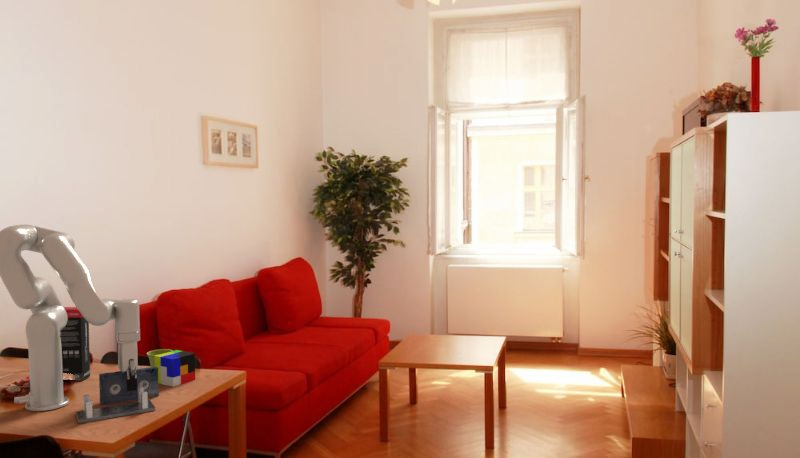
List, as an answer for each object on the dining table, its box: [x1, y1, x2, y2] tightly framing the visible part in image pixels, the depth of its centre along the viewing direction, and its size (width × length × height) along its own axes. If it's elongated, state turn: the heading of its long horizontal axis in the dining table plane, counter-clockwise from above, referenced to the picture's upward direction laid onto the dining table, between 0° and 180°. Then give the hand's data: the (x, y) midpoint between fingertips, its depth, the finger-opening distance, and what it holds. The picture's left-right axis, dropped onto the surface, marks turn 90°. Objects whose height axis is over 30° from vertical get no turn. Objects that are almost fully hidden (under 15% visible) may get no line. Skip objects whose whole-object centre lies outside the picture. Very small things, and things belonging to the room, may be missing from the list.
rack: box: [75, 386, 156, 424], centre depth 207 cm, size 22×9×6 cm, turn 122°
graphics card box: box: [60, 306, 91, 382], centre depth 244 cm, size 17×7×27 cm, turn 92°
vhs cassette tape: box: [98, 366, 160, 406], centre depth 220 cm, size 18×3×10 cm, turn 119°
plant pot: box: [146, 348, 173, 367], centre depth 251 cm, size 9×9×9 cm
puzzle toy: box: [154, 349, 196, 388], centre depth 241 cm, size 10×10×10 cm
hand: (129, 386), depth 220 cm, fingers open, 9 cm apart
